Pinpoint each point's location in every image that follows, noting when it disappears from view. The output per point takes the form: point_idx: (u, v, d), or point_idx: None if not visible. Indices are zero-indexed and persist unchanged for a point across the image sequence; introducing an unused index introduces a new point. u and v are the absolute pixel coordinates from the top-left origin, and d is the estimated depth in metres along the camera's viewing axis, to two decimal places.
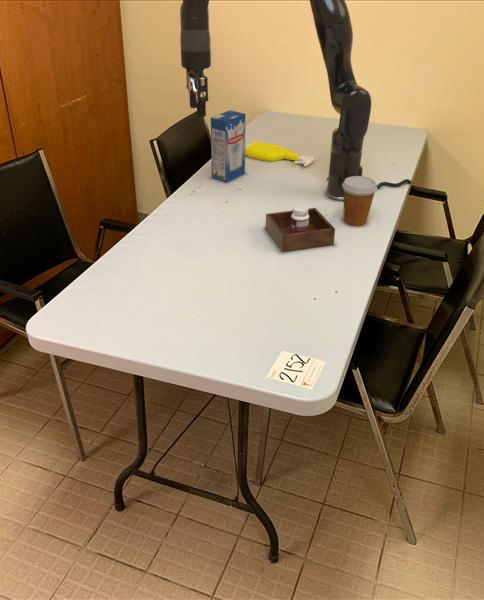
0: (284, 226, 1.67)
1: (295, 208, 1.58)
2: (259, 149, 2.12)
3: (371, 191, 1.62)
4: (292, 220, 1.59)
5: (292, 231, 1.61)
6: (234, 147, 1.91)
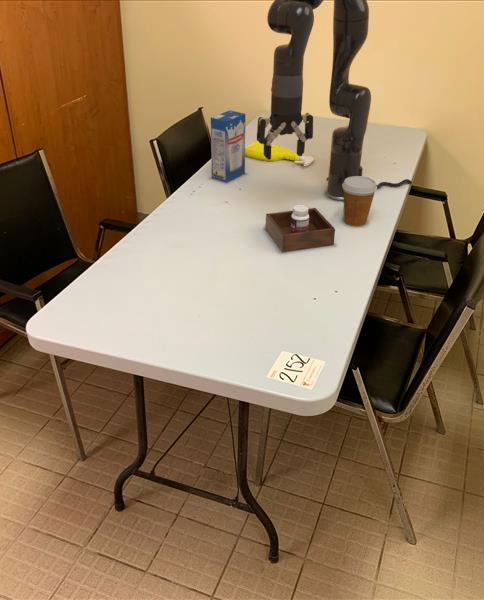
0: (284, 226, 1.67)
1: (295, 208, 1.58)
2: (259, 149, 2.12)
3: (371, 191, 1.62)
4: (292, 220, 1.59)
5: (292, 231, 1.61)
6: (234, 147, 1.91)
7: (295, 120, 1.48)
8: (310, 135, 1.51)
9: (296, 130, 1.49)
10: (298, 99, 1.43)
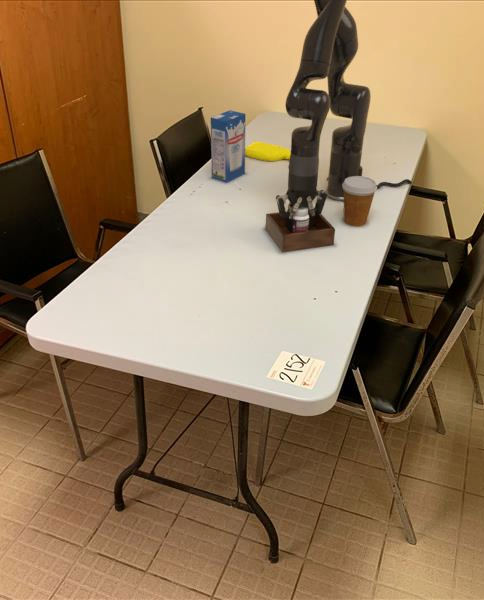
0: (284, 226, 1.67)
1: None
2: (259, 149, 2.12)
3: (371, 191, 1.62)
4: None
5: None
6: (234, 147, 1.91)
7: (311, 195, 1.56)
8: (319, 210, 1.59)
9: (309, 205, 1.57)
10: (314, 177, 1.51)
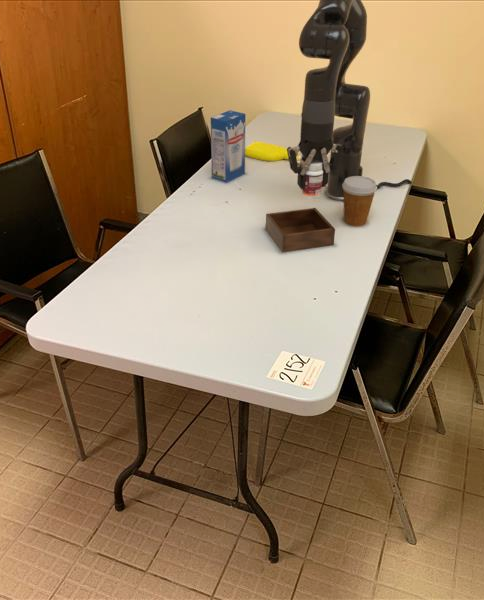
0: (284, 226, 1.67)
1: None
2: (259, 149, 2.12)
3: (371, 191, 1.62)
4: None
5: None
6: (234, 147, 1.91)
7: (326, 148, 1.42)
8: (335, 165, 1.45)
9: (324, 158, 1.42)
10: (329, 125, 1.36)
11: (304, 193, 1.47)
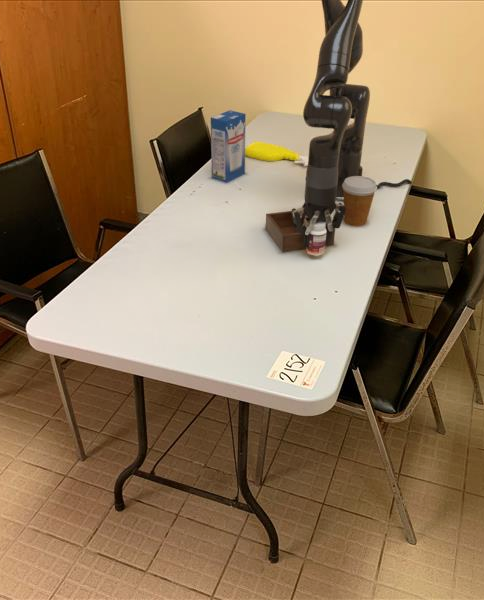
0: (284, 226, 1.67)
1: None
2: (259, 149, 2.12)
3: (371, 191, 1.62)
4: None
5: None
6: (234, 147, 1.91)
7: (329, 209, 1.46)
8: (338, 224, 1.49)
9: (327, 218, 1.47)
10: (333, 190, 1.41)
11: (308, 251, 1.51)
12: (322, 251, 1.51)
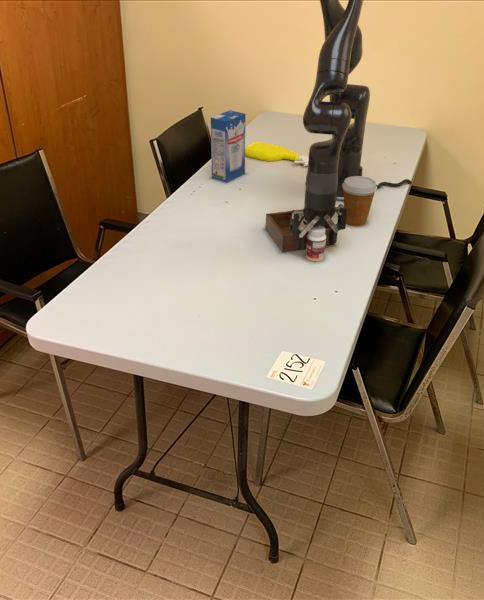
0: (284, 226, 1.67)
1: (311, 228, 1.49)
2: (259, 149, 2.12)
3: (371, 191, 1.62)
4: (308, 241, 1.50)
5: (308, 252, 1.52)
6: (234, 147, 1.91)
7: (328, 213, 1.47)
8: (343, 226, 1.50)
9: (329, 222, 1.47)
10: (333, 195, 1.41)
11: (308, 256, 1.52)
12: (321, 257, 1.52)
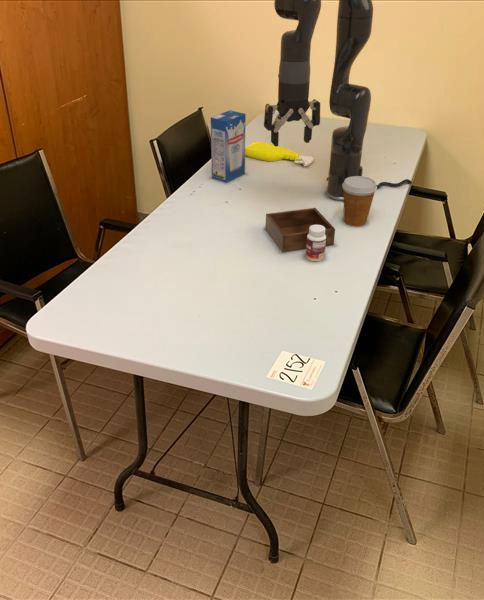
0: (284, 226, 1.67)
1: (311, 228, 1.49)
2: (259, 149, 2.12)
3: (371, 191, 1.62)
4: (308, 241, 1.50)
5: (308, 252, 1.52)
6: (234, 147, 1.91)
7: (302, 106, 1.48)
8: (317, 121, 1.51)
9: (303, 116, 1.49)
10: (305, 85, 1.43)
11: (308, 256, 1.52)
12: (321, 257, 1.52)
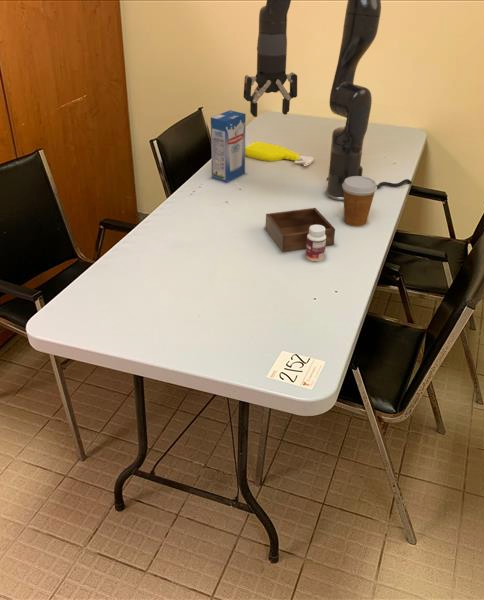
0: (284, 226, 1.67)
1: (311, 228, 1.49)
2: (259, 149, 2.12)
3: (371, 191, 1.62)
4: (308, 241, 1.50)
5: (308, 252, 1.52)
6: (234, 147, 1.91)
7: (280, 78, 1.56)
8: (294, 93, 1.59)
9: (281, 88, 1.57)
10: (282, 57, 1.51)
11: (308, 256, 1.52)
12: (321, 257, 1.52)
